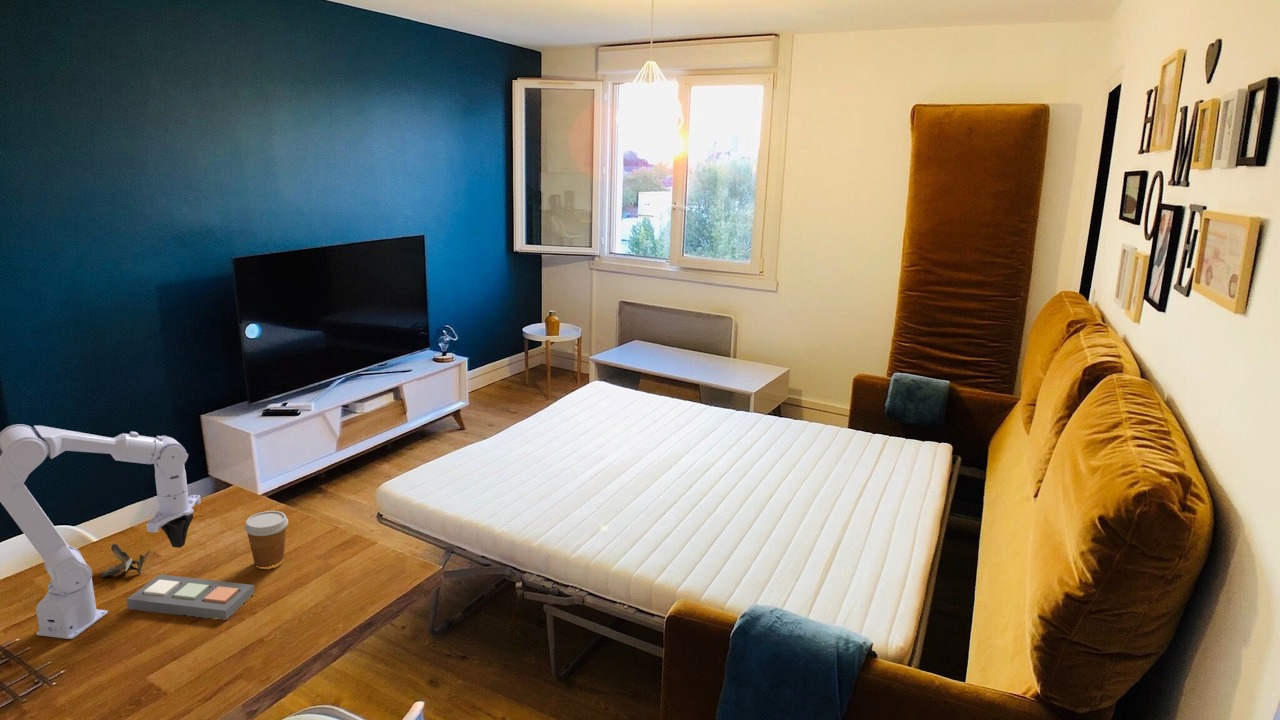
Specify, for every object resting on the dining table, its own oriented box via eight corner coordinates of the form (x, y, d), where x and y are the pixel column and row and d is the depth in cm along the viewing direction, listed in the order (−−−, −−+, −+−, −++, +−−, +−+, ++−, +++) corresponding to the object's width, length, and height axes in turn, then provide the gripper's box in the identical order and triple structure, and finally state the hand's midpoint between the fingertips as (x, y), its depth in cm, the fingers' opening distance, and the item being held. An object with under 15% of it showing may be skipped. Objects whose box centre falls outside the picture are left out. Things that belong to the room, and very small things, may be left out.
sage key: (195, 607, 161) (194, 597, 161) (174, 605, 162) (173, 594, 161) (209, 595, 166) (208, 585, 165) (189, 592, 166) (188, 582, 166)
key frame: (226, 620, 158) (225, 610, 158) (128, 609, 160) (126, 598, 159) (254, 594, 168) (253, 585, 167) (161, 583, 170) (160, 574, 169)
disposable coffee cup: (239, 565, 179) (235, 521, 176) (274, 549, 187) (271, 506, 184) (264, 578, 175) (261, 532, 171) (299, 560, 183) (296, 516, 180)
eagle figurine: (154, 557, 178) (115, 550, 177) (147, 544, 173) (106, 536, 172) (137, 587, 173) (97, 580, 172) (129, 574, 168) (87, 567, 166)
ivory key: (165, 604, 162) (164, 593, 161) (145, 601, 162) (143, 591, 162) (180, 591, 166) (179, 581, 166) (160, 589, 167) (159, 579, 166)
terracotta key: (225, 611, 161) (224, 600, 160) (205, 608, 161) (203, 598, 160) (239, 598, 165) (238, 588, 165) (219, 596, 166) (218, 586, 165)
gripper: (165, 507, 156) (172, 564, 159) (210, 479, 170) (216, 532, 173) (134, 504, 156) (141, 560, 160) (182, 476, 170) (187, 529, 174)
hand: (178, 545), depth 166 cm, fingers closed
